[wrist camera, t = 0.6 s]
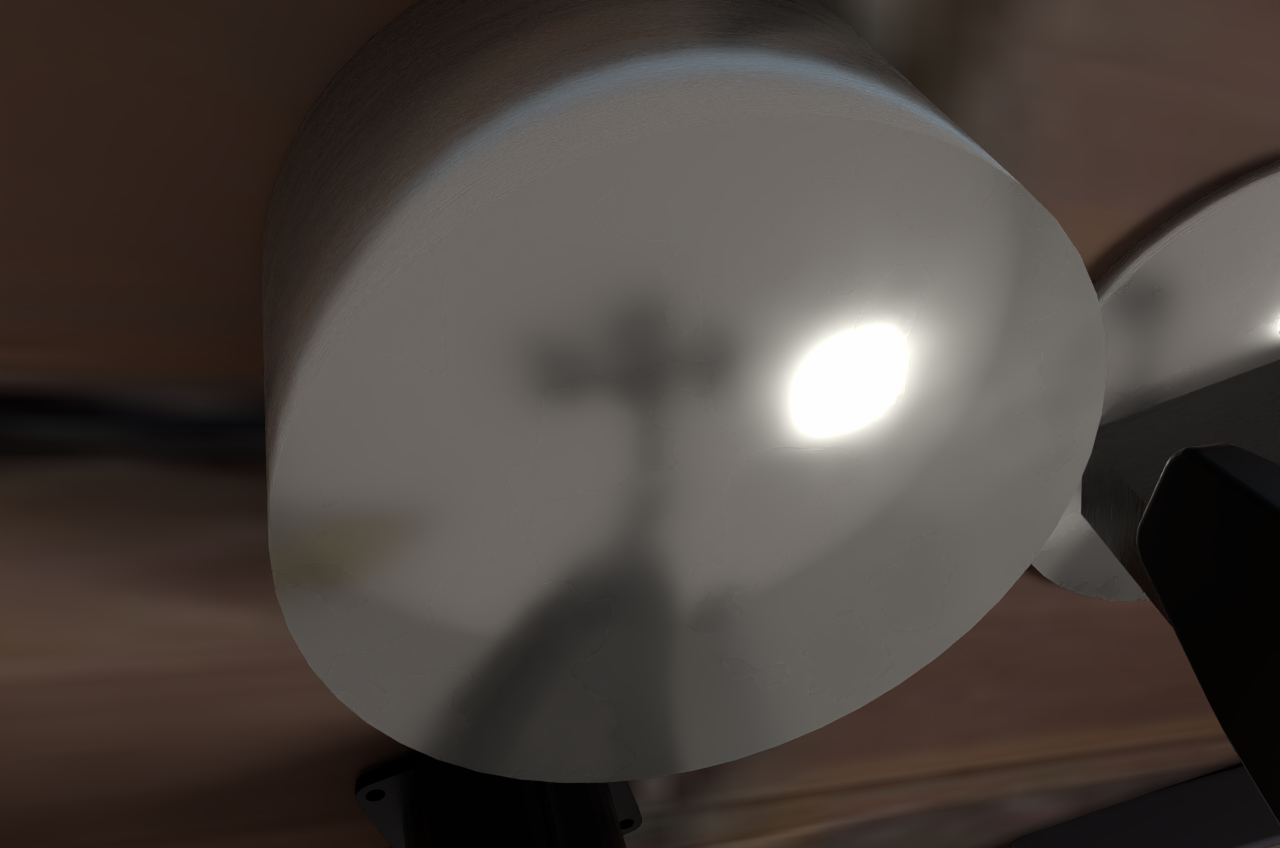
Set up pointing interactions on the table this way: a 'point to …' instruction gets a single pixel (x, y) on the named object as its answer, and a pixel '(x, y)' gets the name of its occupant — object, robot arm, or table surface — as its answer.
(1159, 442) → the lid
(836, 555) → the grey cylinder drum
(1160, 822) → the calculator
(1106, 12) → the table surface
